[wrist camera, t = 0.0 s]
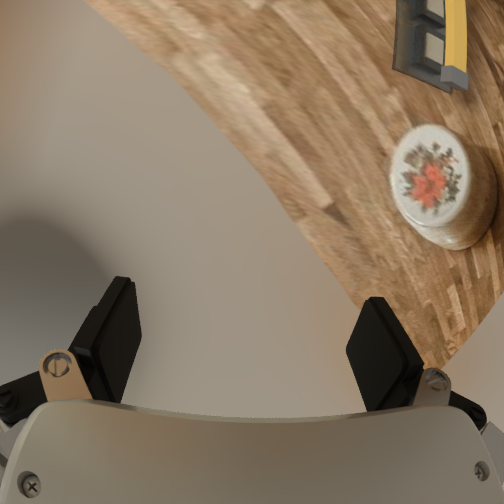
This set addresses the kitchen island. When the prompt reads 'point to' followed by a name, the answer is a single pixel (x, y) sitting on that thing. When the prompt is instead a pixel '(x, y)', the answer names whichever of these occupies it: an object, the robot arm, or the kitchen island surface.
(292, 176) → the kitchen island surface
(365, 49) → the kitchen island surface
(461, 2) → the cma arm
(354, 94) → the kitchen island surface
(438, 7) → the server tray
